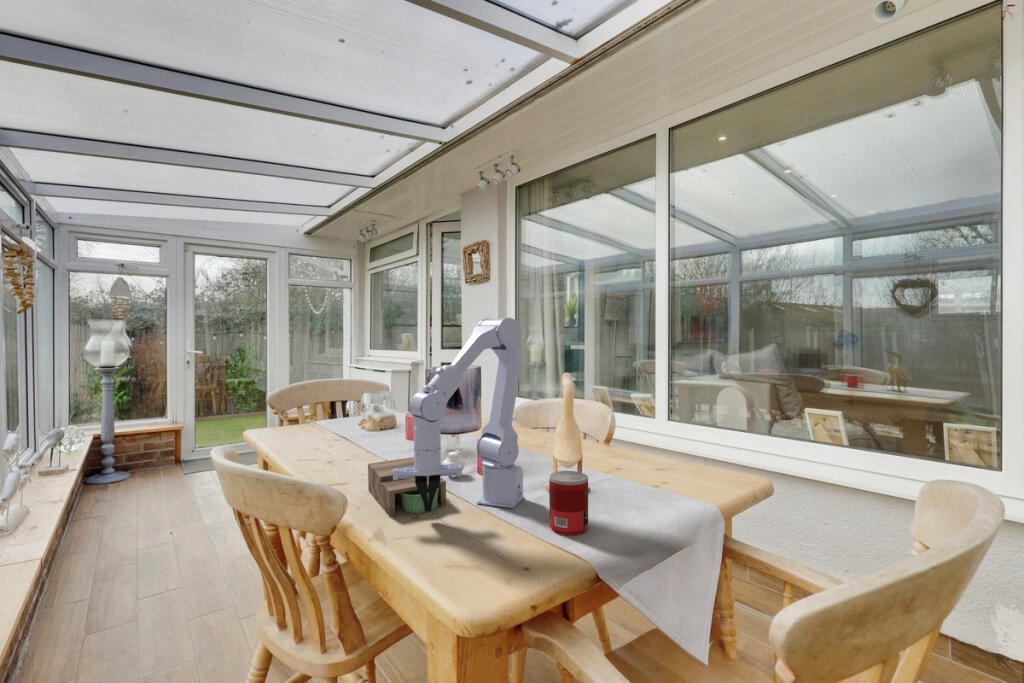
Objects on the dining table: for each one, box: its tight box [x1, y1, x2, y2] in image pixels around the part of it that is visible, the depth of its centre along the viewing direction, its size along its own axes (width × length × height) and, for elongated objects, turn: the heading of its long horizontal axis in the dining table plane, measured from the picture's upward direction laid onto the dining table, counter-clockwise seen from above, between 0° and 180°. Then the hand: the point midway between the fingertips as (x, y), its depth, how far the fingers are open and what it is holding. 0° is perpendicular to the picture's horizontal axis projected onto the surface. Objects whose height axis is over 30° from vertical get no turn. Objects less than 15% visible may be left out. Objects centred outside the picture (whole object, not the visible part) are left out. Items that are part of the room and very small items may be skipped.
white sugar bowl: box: [442, 451, 466, 471], centre depth 135 cm, size 6×6×7 cm
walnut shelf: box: [367, 456, 447, 518], centre depth 118 cm, size 20×13×7 cm
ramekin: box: [400, 486, 439, 514], centre depth 112 cm, size 9×9×4 cm
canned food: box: [548, 470, 589, 536], centre depth 99 cm, size 8×8×11 cm
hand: (428, 510), depth 104 cm, fingers closed
